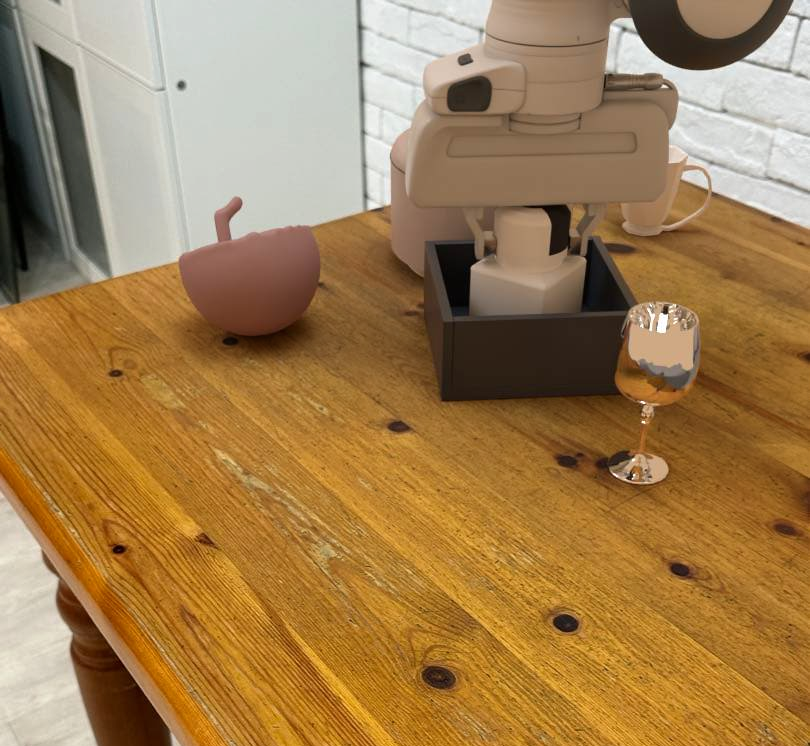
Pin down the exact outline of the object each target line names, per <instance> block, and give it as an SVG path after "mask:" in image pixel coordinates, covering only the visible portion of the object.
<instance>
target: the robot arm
mask: <svg viewBox="0 0 810 746" xmlns="http://www.w3.org/2000/svg"><path fill="white" fill-rule="evenodd" d="M794 1H795V0H491V5H490V9H489V12H488V15H487V17H486V22H485V32H484V33H485V35H484V41H483V42H481V43H478V44H475V45H473V46H470V47H467V48H464V49H462V50H459V51H456V52H453V53H450V54H447V55H445V56H442V57H440V58H439V57H438V58H436V59H434V60H432V61H430V62H428V63H427V64H426V65H425V66H424V68H423V75H422V88H423V95H424V97H425V99H423V100H422V101H421V102H420V103H419V105H418V106H417V107H416V109H415V111H414V113H413V116H412V118H411V123H410V127H409V128H410V134H409V140H408V148H407V157H406V173H405V183H406V192H407V195H408V197H409V199H410V200H411V201H412V202H413V204H414V205H415V206H416V207H418V208H421V209H426V208H460V207H463V213H464V216H465V219H466V222H467V223H468V225H469V227H470V229H471V230H472V232H473V234H474V236H475V255H476V258H477V259H494V258H495V250H494V249H495V248H496V238H495V236H494V232H493V231H483V229H482V227H481V226H480V224H479V222H478V220H479V219H483V212H484V207H497V206H533V205H568V204H574V205H582V207H583V209H584V211H585V213H584V214H583V216H582V218H581V219H580V220H579V222H578V223H577V226H576V227H575V228H571V229H570V230H569V240H568V250H567V256H586V252H587V243H588V237H589V236H592V235H593V233H594V231H595V230H596V229H597V228H598V227H599V225H600V223H601V222H602V221H603V219H604V218H605V216H606V210H607V209H606V208H607V204H621V203H641V202H654V201H656V200H657V199H658V198H659V196H660V195H661V194H662V193H663V192H664V191H665V189H666V186H667V178H668V166H669V145H670V130H671V129H672V128H673V126H674V124H675V123H676V119H677V114H678V108H679V100H680V96H679V90H678V89H677V86H676V85H675V84H674V82H672V81H670V80H669V79H667V78H664V76H663V74H661V73H658V72H644V73H643V74H634V73H624V72H620V73H618V72H617V73H616V72H615V73H612V72H611V73H610V72H608V73H606V67H607V59H608V49H609V41H610V32H611V25H612V23H614V22H615V21H617V20H618V19H632V22H633V26H634V28H635V31H636V33H637V34H638V36H639V38H640V40H641V41H642V43H643V44H644V45H645V47H646V48H647V49H648V50H649V52H651V53H652V55H654V56H655V57H657V58H658V59H660V60H661V61H662V62H664V63H666V64H668V65H670V66H672V67H675V68H677V69H678V68H679V69H682V70H686V71H698V72H700V71H711V70H716V69H717V70H718V69H722V68H725V67H727V66H730V65H733V64H735V63H737V62H739V61H741V60H744V59H745V58H747V57H748V56H750V55H751V54H752V53H754V52H755V51H757V50H759V48H761V47H762V46H763V45H764V44H765V43H766V42H767V41H768V40H770V38H771V37H772V36H773V35H774V34H775V33H776V31H777V30H778V29H779V28H780V26H781V24H782V23H783V22H784V20H785V18H786V17H787V15H788V13H789V12H790V9H791V7H792V5H793V3H794ZM663 86H666V87H663Z"/></svg>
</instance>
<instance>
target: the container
mask: <svg viewBox="0 0 810 746" xmlns="http://www.w3.org/2000/svg"><path fill="white" fill-rule="evenodd" d="M410 128H411V127H409V128H407V129H406V130H404V131H403V132H402V133H400V134H399V135H398V136H397V137H396V138H395V140H394V142H393V144H392V146H391V150H390V153H389V160H390V246H391V249H392V251H393V253H394V255H395V256H396V258H398V259H399V260H400V261H401V262H403V263H404V264H405V265H408V267H409V268H410V270H412V271H413V272H414V273H415V274H417V275H419V276H420V277H422V278H424V249H425V241H439V240H474V239H475V236H474V234H473V232H472V230H471V229H470V227H469V225H468V223H467V222H466V219H465V216H464V213H463V207H460V208H426V209H421V208H418V207H416V206H415V205H414V204H413V202H412V201H411V200H410V199H409V197H408V195H407V192H406V183H405V173H406V157H407V148H408V140H409V134H410ZM574 205H575V204H568V205H567V207H568V208H569V210H570V211H571V221H570V229H572V224H573V214H574ZM495 209H496V207H484V212H483V219H479V220H478V222H479V224H480V226H481V227H482V229H483V231H493V232H494V219H495Z"/></svg>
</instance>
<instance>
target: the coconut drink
mask: <svg viewBox="0 0 810 746" xmlns="http://www.w3.org/2000/svg"><path fill="white" fill-rule="evenodd" d="M243 203H244V202H243V199H242V197H240V196H236V195H235V196H234V197H232V198H231V199H230V201H229V202H228V203H227V204H226V205H224V207H222V208H220V209H217V210H216V211H215V212H214V215H213V220H214V226H215V232H216V238H217V242H215V243H211V244H207V245H205V246H201V247H198V248H195V249H193V250H191V251H186V252H184V253H182V254H181V255H180V256H179V258H178V270H179V275H180V279H181V282H182V286H183V288H184V292H185V293H186V296H187V297H188V299H189V300H190V303H191V304H192V305H193V307H194V308H195V310H197V312H198V313H199V314H201V316H202V317H203V318H204V319H205V320H207V321H208V322H210V323H211V324H212V325H214V326H216V327H217V328H219V329H221V330H223V331H225V332H228V333H232V334H234V335H239V336H246V337H247V336H248V337H258V336H259V337H261V336H265V335H270V334H274V333H277V332H279V331H281V330H284V329H285V328H287V327H289V326H290V325H292V324H293V323H294V322H296V321H297V320H298V319H299V318H300V317H302V315H303V314H304V313H305V312H306V310H307V309H308V308H309V306H310V305H311V303H312V302H313V299H314V297H315V295H316V293H317V289H318V287H319V282H320V277H321V254H320V249H319V246H318V242H317V240H316V237H315V235H314V233H313V230H312V229H311V226H310V225H306V224H303V225H301V224H298V225H295V226H293V225H287V226H285V227H277V228H272V229H271V228H270V229H269V230H264V231H261V232H257V231H251V232H249V233H247V234H246V235H244V236H240V237H239V238H232V233H231V227H230V221H231V220H232V218H234V216H235V215H236V214H237V213H238V212H240V210H241V209H242V207H243Z"/></svg>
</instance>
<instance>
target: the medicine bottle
mask: <svg viewBox="0 0 810 746" xmlns="http://www.w3.org/2000/svg"><path fill="white" fill-rule="evenodd" d="M570 221H571V211H570V210H569V208H568V207H567V205H533V206H497V207H496V209H495V219H494V236H495V238H496V248H495V249H494V250H495V258H494V259H482V260H480V261H479V262H477V263H476V264H474V265H473V266H472V267H471V269H470V293H469V316H490V315H520V314H550V313H581V304H582V296H583V287H584V278H585V269H586V259H585V258H584V257H581V256H567V250H568V240H569V230H570Z"/></svg>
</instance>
